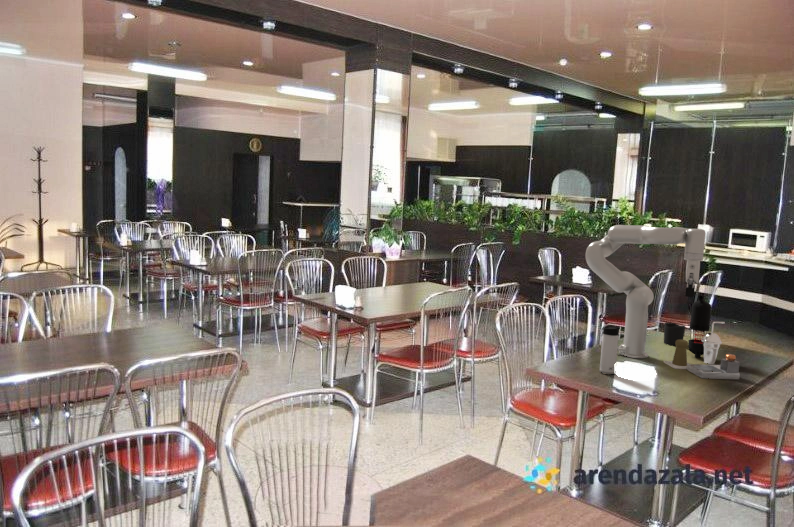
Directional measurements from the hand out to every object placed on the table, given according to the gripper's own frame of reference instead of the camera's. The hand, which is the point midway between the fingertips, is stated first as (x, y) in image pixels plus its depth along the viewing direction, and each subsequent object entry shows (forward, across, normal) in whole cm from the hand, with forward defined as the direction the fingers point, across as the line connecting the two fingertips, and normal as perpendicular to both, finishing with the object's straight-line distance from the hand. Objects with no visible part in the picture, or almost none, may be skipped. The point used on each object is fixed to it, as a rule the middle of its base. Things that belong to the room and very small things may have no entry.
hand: (689, 295), depth 267 cm
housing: (+31, -10, -12) cm, 35 cm away
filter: (+32, +18, -6) cm, 37 cm away
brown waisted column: (+31, -4, +1) cm, 31 cm away
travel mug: (+32, -35, +27) cm, 54 cm away
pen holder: (+32, +39, +6) cm, 51 cm away
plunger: (+28, -10, -18) cm, 34 cm away
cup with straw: (+32, +10, -11) cm, 35 cm away
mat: (+31, -4, +1) cm, 32 cm away
